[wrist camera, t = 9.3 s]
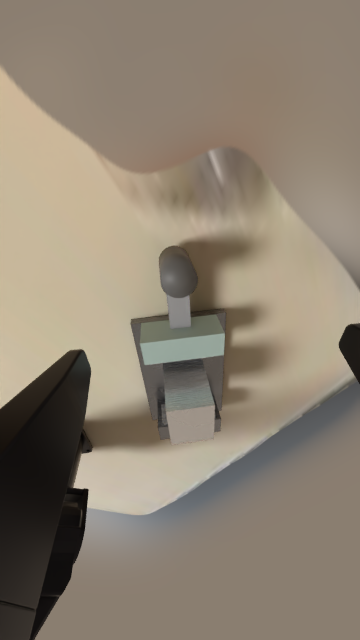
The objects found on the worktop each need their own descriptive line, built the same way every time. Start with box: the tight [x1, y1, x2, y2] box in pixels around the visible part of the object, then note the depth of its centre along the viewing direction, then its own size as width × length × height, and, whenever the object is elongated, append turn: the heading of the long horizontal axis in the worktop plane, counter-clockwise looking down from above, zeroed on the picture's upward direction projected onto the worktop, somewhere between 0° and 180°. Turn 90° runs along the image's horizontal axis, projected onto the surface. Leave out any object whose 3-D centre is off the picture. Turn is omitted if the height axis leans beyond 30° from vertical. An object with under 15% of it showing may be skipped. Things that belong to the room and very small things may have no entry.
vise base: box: [131, 309, 226, 440], centre depth 25 cm, size 15×9×4 cm, turn 4°
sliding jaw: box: [140, 246, 225, 365], centre depth 18 cm, size 9×7×4 cm
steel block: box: [163, 358, 215, 445], centre depth 23 cm, size 5×4×6 cm
